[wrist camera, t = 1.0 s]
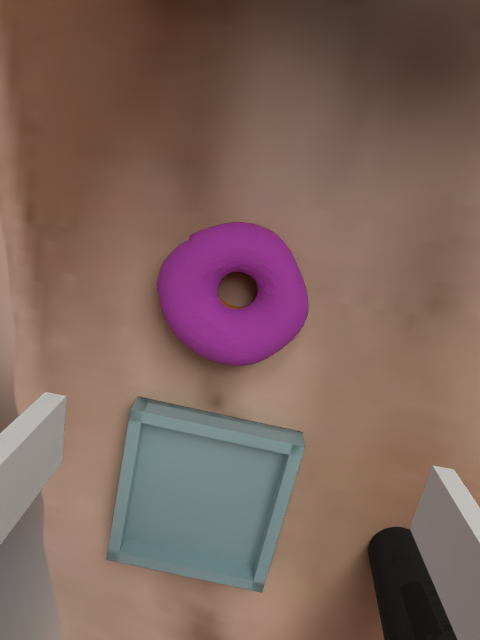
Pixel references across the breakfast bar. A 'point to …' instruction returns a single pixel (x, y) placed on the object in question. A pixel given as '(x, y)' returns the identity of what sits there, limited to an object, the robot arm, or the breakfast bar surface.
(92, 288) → the breakfast bar surface
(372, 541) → the drinking cup
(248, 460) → the tray
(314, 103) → the breakfast bar surface
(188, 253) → the donut
